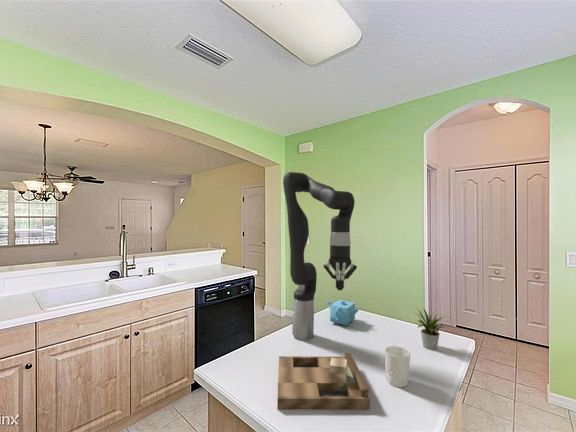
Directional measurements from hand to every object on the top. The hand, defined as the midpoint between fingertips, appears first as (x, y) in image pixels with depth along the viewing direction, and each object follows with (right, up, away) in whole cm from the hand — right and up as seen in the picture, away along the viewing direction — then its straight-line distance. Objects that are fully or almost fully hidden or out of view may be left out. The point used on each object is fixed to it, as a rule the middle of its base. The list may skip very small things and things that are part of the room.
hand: (339, 289), depth 106 cm
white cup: (+17, -27, -13) cm, 34 cm away
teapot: (+8, -27, +39) cm, 49 cm away
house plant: (+39, -28, +13) cm, 50 cm away
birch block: (-3, -24, -16) cm, 29 cm away
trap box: (-10, -27, -15) cm, 32 cm away
